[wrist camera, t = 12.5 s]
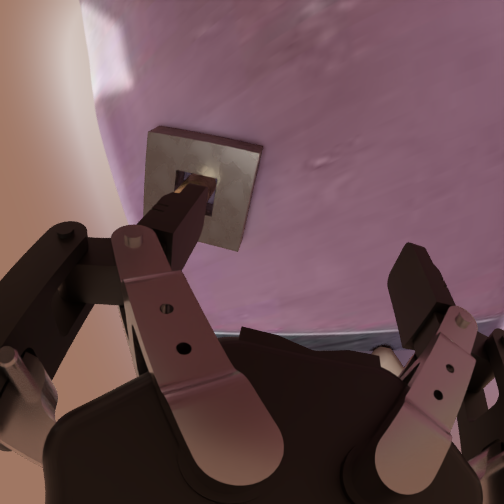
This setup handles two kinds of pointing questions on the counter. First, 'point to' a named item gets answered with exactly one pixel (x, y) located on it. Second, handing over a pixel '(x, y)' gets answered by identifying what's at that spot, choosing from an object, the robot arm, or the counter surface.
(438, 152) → the counter surface
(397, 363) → the tube
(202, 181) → the pipe stub
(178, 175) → the block
